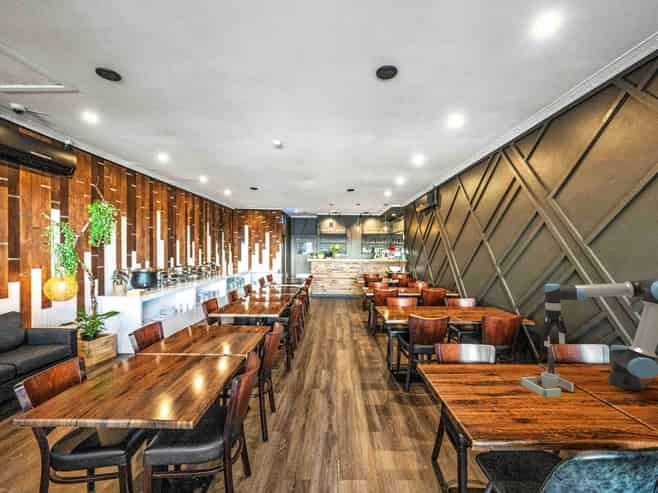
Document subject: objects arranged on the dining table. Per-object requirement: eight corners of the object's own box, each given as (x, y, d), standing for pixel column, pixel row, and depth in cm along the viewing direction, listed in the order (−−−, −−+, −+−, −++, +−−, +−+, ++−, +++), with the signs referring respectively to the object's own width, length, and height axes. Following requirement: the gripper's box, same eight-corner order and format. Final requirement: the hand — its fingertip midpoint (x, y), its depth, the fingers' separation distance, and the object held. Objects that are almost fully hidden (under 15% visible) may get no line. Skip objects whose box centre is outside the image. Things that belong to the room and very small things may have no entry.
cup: (557, 386, 175) (557, 372, 175) (567, 392, 167) (566, 378, 167) (538, 386, 176) (537, 372, 176) (546, 392, 168) (546, 377, 168)
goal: (535, 383, 179) (535, 376, 180) (561, 396, 162) (561, 389, 162) (520, 384, 178) (520, 377, 178) (544, 397, 161) (544, 390, 161)
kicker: (550, 377, 187) (549, 353, 188) (580, 391, 168) (579, 364, 168) (542, 377, 187) (541, 353, 187) (571, 391, 167) (570, 364, 168)
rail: (555, 378, 186) (555, 373, 187) (563, 381, 181) (562, 376, 181) (523, 380, 184) (522, 375, 184) (529, 383, 179) (529, 378, 179)
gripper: (559, 307, 187) (561, 341, 186) (532, 310, 178) (534, 345, 177) (573, 309, 180) (574, 344, 179) (545, 312, 171) (547, 349, 170)
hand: (554, 345), depth 178 cm, fingers open, 13 cm apart
